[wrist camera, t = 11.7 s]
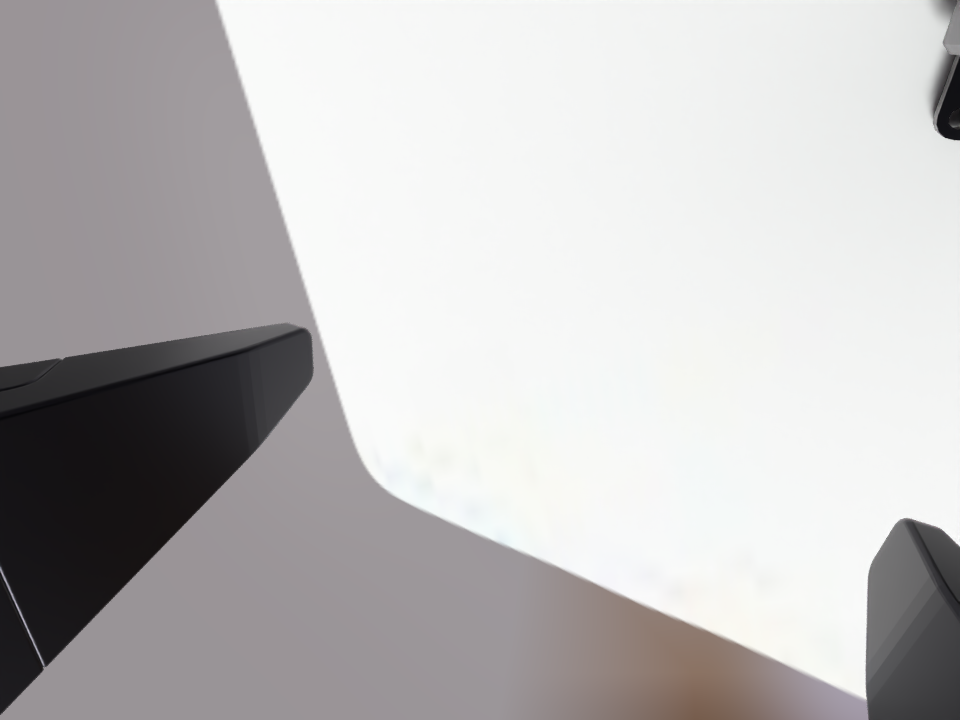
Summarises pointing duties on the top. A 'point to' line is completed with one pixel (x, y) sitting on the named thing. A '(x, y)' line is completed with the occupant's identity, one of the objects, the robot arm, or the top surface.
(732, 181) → the top surface
